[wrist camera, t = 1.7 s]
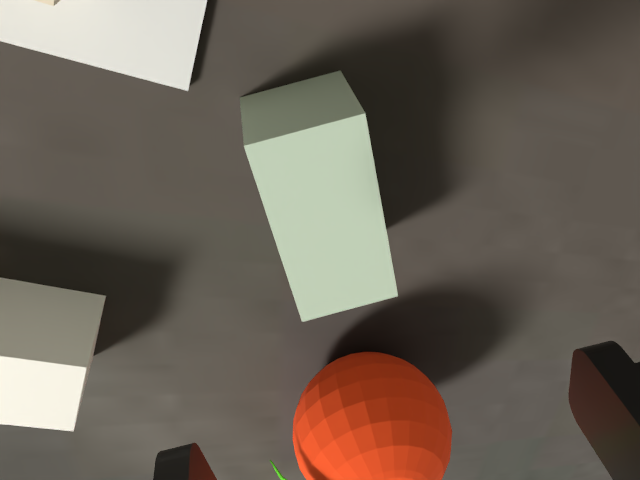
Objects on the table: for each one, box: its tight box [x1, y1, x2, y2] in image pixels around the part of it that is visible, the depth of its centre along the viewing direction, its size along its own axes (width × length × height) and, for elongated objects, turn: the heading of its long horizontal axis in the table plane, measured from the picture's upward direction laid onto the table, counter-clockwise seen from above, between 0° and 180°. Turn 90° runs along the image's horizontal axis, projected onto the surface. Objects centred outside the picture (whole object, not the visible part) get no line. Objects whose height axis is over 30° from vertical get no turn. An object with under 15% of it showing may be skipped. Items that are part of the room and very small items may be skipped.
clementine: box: [270, 352, 452, 480], centre depth 24 cm, size 8×7×7 cm
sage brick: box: [240, 71, 398, 322], centre depth 19 cm, size 7×4×4 cm, turn 12°
